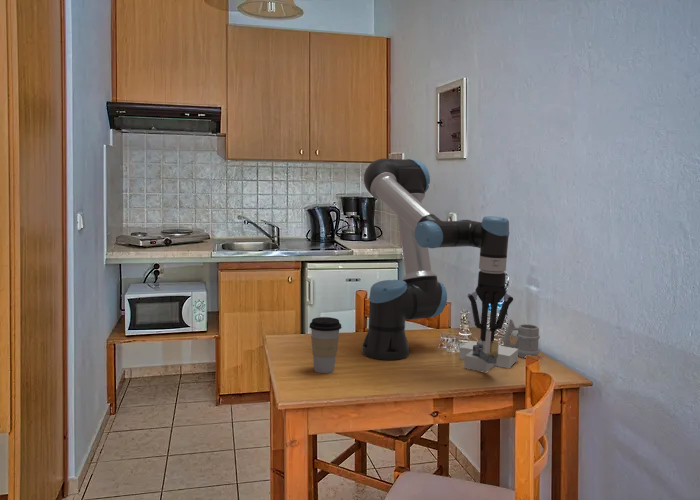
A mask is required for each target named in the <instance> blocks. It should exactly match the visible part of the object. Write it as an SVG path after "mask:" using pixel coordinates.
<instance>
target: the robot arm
mask: <svg viewBox="0 0 700 500" xmlns="http://www.w3.org/2000/svg"><path fill="white" fill-rule="evenodd" d="M430 177H431V176H430V172H429V169H428V168H427V166H426V165H425V163H423V162H422V161H419V160H417V159H411V158H407V159H404V158H403V159H402V158H399V159H398V158H379V159H375V160H374V161H372V162H371V163H370V164H369V165H368V166H367V168H366V169H365V170H364V174H363V184H364V186H365V189H366V191H367V192H368V193H369V194H370V195H371V196H372V197H373V198H375V200H379V201H380V200H381V201H382V202H383V203H384V204H385V205H386V206H387V207H388V208H389V209H391V211H393V213H395V214H396V216H397V219H398V227H399V235H400V240H401V242H400V243H401V248H402V257H403V263H404V270H405V274H404V277H402V279H401V280H400V279H387V280H385V279H384V280H381V281H378V282H377V281H376V282H374V284H372V285H371V287H370V291H369V296H368V299H369V304H368V305H369V309H368V310H369V311H368V330H367V332H366V335H365V338H364V341H363V343H362V348H361V349H362V351H361V353H362V355H364V356H366V357H368V358H371V359H374V360H375V359H376V360H382V361H396V360H402V359H405V358H407V357H409V356H410V346H409V342H408V339H407V338H408V337H407V335H406V331H405V330H406V328H405V326H406V321H411V320H412V321H413V320H418V319H419V320H420V319H430V318H434V317H435V318H436V317H437V316H438V317H439V315H441V314H442V313H443V312H444V309H445V308H446V306H447V303H448V293H447V288H446V287H445V286H444V284H443V283H442V282H441V281H438V276H437V274H436V273H435V272H433V270H432V266H431V259H430V252H429V249H436V248H437V249H439V248H457V247H458V248H460V247H473V248H478V249H479V262H478V269H479V271H478V276H477V278H478V279H477V286H476V288H475V291H474V292H472V293H468V294H467V298H468V300H469V301H470V305H471V312H472V316H473V323H474V326H475V327H476V328H477V329H480V337H479V338H480V340H481V341H484V342H483V351H484V353H490V342H491V341H494V340H495V333H496V330H501V329H502V327H503V325H504V323H505V318H506V315H507V313H508V310H509V307H510V305H511V304H512V303H513V302H514V297H513V296H512V295H509V293H507V290H506V287H505V286H506V273H505V272H506V270H507V259H508V250H509V249H508V247H509V236H510V221H509V219H508V218H507V217H501V216H484V217H483V218H482V220H481V221H475V220H472V219H458V220H441V219H440V218H439V217H437V216H436V215H435V214H434V213H433V212H432V211H431V210H429V209H428V208H427V206H425V205H424V204H422V202H423V200H424V198H426V192H427V191H428V190H429V188H430V186H429V185H430V183H431V178H430ZM477 297H478V298H479V300H480V301H481V317H480V316H479V315H480V314H479V310H478V304H477V299H478V298H477ZM502 299H503V301H502V304H501V308H500V311H499V313H498V316H497V311H498V306H499V305H498V304H499V302H501V300H502ZM489 305H490V306H489ZM489 307H490V311H489ZM489 312H490V313H489ZM488 315H490V316H488ZM488 317H489V328H488V327H487V326H488ZM480 318H481V320H480Z"/></svg>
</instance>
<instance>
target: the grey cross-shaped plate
mask: <svg viewBox="0 0 700 500" xmlns="http://www.w3.org/2000/svg"><path fill="white" fill-rule="evenodd" d="M483 342H484V341H481V339H480V340H478V341H476V340H469V341H467V342H466V343H464V344H463V345H461V346H460V347H459V357H458V358H459V360H460V359H461V360H462V361H465V355H466V354H468V353H469V352H471V351H472V350H473V346H474V345H478V343H483ZM518 359H519V357H518V349H516V347H515V348H510V347H504V345H499V346H498V358H497V360H496V363H494V367H497V366H498V368H502V367H505V368H504V369H508V368H509V369H510V368H512V367H513V366H514V365H515V364H516V363H517V362H519V361H518ZM515 362H516V363H515ZM514 363H515V364H514ZM513 364H514V365H513ZM512 365H513V366H512ZM511 366H512V367H511Z"/></svg>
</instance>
